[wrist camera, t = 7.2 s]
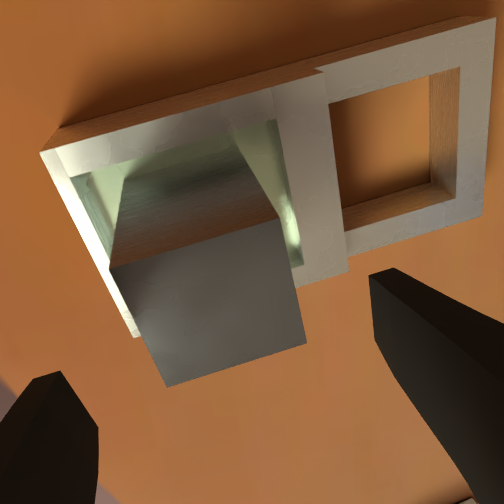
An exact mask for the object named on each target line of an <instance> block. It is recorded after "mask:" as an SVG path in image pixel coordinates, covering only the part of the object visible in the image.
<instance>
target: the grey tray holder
mask: <svg viewBox="0 0 504 504" xmlns="http://www.w3.org/2000/svg"><path fill="white" fill-rule="evenodd" d="M495 30H496V17H479V16H459V17H455V18H452V19H448V20H445V21H441V22H438V23H434V24H430V25H427V26H423V27H420V28H416V29H413V30H409V31H405V32H402V33H398V34H395V35H391V36H387V37H384V38H380V39H377V40H373V41H370V42H366V43H362V44H359V45H355V46H352V47H348V48H344V49H341V50H337V51H334V52H330V53H327V54H323V55H319V56H316V57H312V58H309V59H305V60H301V61H298V62H294V63H291V64H287V65H284V66H280V67H276V68H273V69H269V70H266V71H262V72H259V73H255V74H251V75H248V76H244V77H241V78H237V79H233V80H230V81H226V82H223V83H219V84H216V85H212V86H208V87H205V88H201V89H198V90H194V91H190V92H187V93H183V94H180V95H176V96H173V97H169V98H165V99H162V100H158V101H155V102H151V103H148V104H144V105H140V106H137V107H133V108H130V109H126V110H122V111H119V112H115V113H112V114H108V115H105V116H101V117H97V118H94V119H90V120H87V121H83V122H79V123H76V124H72V125H69V126H65V127H62V128H58V129H57V130H56V131H55V133H54V134H53V135H52V136H51V138H50V139H49V140H48V142H47V143H46V144H45V146H44V147H43V148H42V149H41V151H40V152H39V153H40V155H41V157H42V159H43V161H44V163H45V165H46V167H47V169H48V171H49V173H50V175H51V177H52V179H53V181H54V183H55V185H56V187H57V189H58V191H59V193H60V195H61V197H62V199H63V200H64V202H65V204H66V206H67V208H68V210H69V212H70V214H71V216H72V218H73V220H74V222H75V224H76V226H77V228H78V230H79V232H80V234H81V236H82V238H83V240H84V242H85V244H86V246H87V248H88V250H89V252H90V254H91V255H92V257H93V259H94V261H95V263H96V265H97V267H98V269H99V271H100V273H101V275H102V277H103V279H104V281H105V283H106V285H107V287H108V289H109V291H110V293H111V295H112V297H113V299H114V301H115V303H116V305H117V307H118V309H119V311H120V312H121V314H122V316H123V318H124V320H125V322H126V324H127V326H128V328H129V330H130V332H131V334H132V336H133V338H135V337H139V336H141V334H140V332H139V330H138V328H137V326H136V324H135V322H134V320H133V318H132V316H131V314H130V312H129V310H128V308H127V306H126V304H125V302H124V300H123V298H122V296H121V294H120V292H119V290H118V288H117V286H116V284H115V282H114V280H113V278H112V276H111V274H110V272H109V270H108V269H109V263H110V257H111V251H112V245H113V239H114V233H115V228H116V222H117V216H118V210H119V204H120V198H121V192H122V186H123V180H125V179H128V178H132V177H135V176H139V175H142V174H146V173H149V172H153V171H156V170H159V169H163V168H166V167H170V166H173V165H177V164H180V163H184V162H187V161H191V160H194V159H197V158H201V157H204V156H208V155H211V154H215V153H218V152H222V151H225V150H229V149H232V148H235V147H238V148H239V150H240V151H241V153H242V155H243V156H244V158H245V160H246V161H247V163H248V165H249V166H250V168H251V170H252V172H253V173H254V175H255V177H256V178H257V180H258V182H259V183H260V185H261V187H262V188H263V190H264V192H265V193H266V195H267V197H268V198H269V200H270V202H271V203H272V205H273V207H274V209H275V210H276V212H277V214H278V215H279V217H280V220H281V225H282V229H283V234H284V238H285V243H286V248H287V252H288V257H289V262H290V266H291V271H292V276H293V280H294V285H295V288H297V287H301V286H304V285H307V284H310V283H314V282H317V281H320V280H323V279H326V278H330V277H333V276H336V275H339V274H343V273H346V272H349V266H348V258H347V257H350V256H353V255H356V254H360V253H363V252H366V251H369V250H373V249H376V248H379V247H382V246H386V245H389V244H392V243H395V242H399V241H402V240H405V239H408V238H412V237H415V236H418V235H422V234H425V233H428V232H431V231H435V230H438V229H441V228H444V227H448V226H451V225H454V224H457V223H461V222H464V221H467V220H470V219H474V218H477V217H480V216H482V209H483V195H484V182H485V168H486V154H487V140H488V126H489V113H490V99H491V85H492V71H493V57H494V44H495ZM428 75H430V182H428V183H425V184H422V185H418V186H415V187H412V188H408V189H405V190H402V191H398V192H395V193H392V194H388V195H385V196H382V197H378V198H375V199H372V200H368V201H365V202H362V203H358V204H355V205H352V206H348V207H345V208H342V209H341V202H340V194H339V186H338V178H337V170H336V162H335V155H334V147H333V139H332V131H331V123H330V115H329V107H328V104H330V103H333V102H337V101H340V100H344V99H347V98H351V97H354V96H358V95H361V94H365V93H368V92H372V91H375V90H379V89H382V88H386V87H389V86H393V85H396V84H400V83H403V82H407V81H410V80H414V79H417V78H421V77H424V76H428Z"/></svg>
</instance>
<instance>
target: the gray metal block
mask: <svg viewBox="0 0 504 504" xmlns="http://www.w3.org/2000/svg"><path fill="white" fill-rule="evenodd" d="M108 270H109V272H110V274H111V276H112V278H113V280H114V282H115V284H116V286H117V288H118V290H119V292H120V294H121V296H122V298H123V300H124V302H125V304H126V306H127V308H128V310H129V312H130V314H131V316H132V318H133V320H134V322H135V324H136V326H137V328H138V330H139V332H140V334H141V336H142V338H143V340H144V342H145V344H146V346H147V348H148V350H149V352H150V354H151V356H152V358H153V360H154V362H155V364H156V366H157V368H158V370H159V372H160V374H161V376H162V379H163V381H164V383H165V385H166V387H170V386H174V385H177V384H180V383H183V382H186V381H189V380H192V379H196V378H199V377H202V376H205V375H208V374H211V373H214V372H218V371H221V370H224V369H227V368H230V367H233V366H236V365H240V364H243V363H246V362H249V361H252V360H255V359H258V358H262V357H265V356H268V355H271V354H274V353H277V352H281V351H284V350H287V349H290V348H293V347H296V346H299V345H303V344H306V343H307V340H306V336H305V331H304V327H303V322H302V317H301V313H300V308H299V303H298V299H297V294H296V289H295V285H294V280H293V276H292V271H291V266H290V262H289V257H288V252H287V248H286V243H285V238H284V234H283V229H282V225H281V220H280V217H279V215H278V214H277V212H276V210H275V209H274V207H273V205H272V203H271V202H270V200H269V198H268V197H267V195H266V193H265V192H264V190H263V188H262V187H261V185H260V183H259V182H258V180H257V178H256V177H255V175H254V173H253V172H252V170H251V168H250V166H249V165H248V163H247V161H246V160H245V158H244V156H243V155H242V153H241V151H240V150H239V148H238V147H235V148H232V149H229V150H225V151H222V152H218V153H215V154H211V155H208V156H204V157H201V158H197V159H194V160H191V161H187V162H184V163H180V164H177V165H173V166H170V167H166V168H163V169H159V170H156V171H153V172H149V173H146V174H142V175H139V176H135V177H132V178H128V179H125V180H123V186H122V192H121V198H120V204H119V210H118V216H117V222H116V228H115V233H114V239H113V245H112V251H111V257H110V263H109V269H108Z"/></svg>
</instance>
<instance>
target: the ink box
mask: <svg viewBox="0 0 504 504" xmlns="http://www.w3.org/2000/svg"><path fill="white" fill-rule="evenodd" d="M459 504H476V502H475V501H474V500H473V499H472V498H470V499H468V500H466V501H464V502H462V503H459Z"/></svg>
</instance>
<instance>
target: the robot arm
mask: <svg viewBox="0 0 504 504" xmlns="http://www.w3.org/2000/svg"><path fill="white" fill-rule="evenodd" d="M368 276H369V286H370V296H371V307H372V317H373V327H374V338H375V341H376V343H377V345H378V347H379V349H380V351H381V353H382V355H383V357H384V359H385V360H386V362H387V364H388V366H389V368H390V370H391V371H392V373H393V375H394V377H395V378H396V380H397V381H398V383H399V384H400V386H401V387H402V389H403V390H404V392H405V393H406V394H407V396H408V397H409V399H410V400H411V402H412V403H413V405H414V406H415V407H416V409H417V410H418V412H419V413H420V415H421V416H422V417H423V419H424V420H425V422H426V423H427V425H428V426H429V427H430V429H431V430H432V432H433V433H434V435H435V436H436V437H437V439H438V440H439V442H440V443H441V445H442V446H443V447H444V449H445V450H446V452H447V453H448V455H449V456H450V457H451V459H452V460H453V462H454V463H455V465H456V466H457V468H458V469H459V471H460V472H461V474H462V476H463V477H464V479H465V480H466V482H467V483H468V485H469V487H470V488H471V490H472V492H473V494H474V495H475V497H476V499H477V501H478V502H479V504H504V324H503V323H501V322H499V321H497V320H495V319H493V318H491V317H488V316H486V315H484V314H482V313H480V312H478V311H476V310H474V309H472V308H470V307H468V306H466V305H464V304H462V303H460V302H458V301H456V300H454V299H452V298H450V297H448V296H446V295H444V294H442V293H441V292H439V291H437V290H435V289H433V288H431V287H429V286H427V285H425V284H424V283H422V282H420V281H418V280H416V279H414V278H413V277H411V276H409V275H407V274H405V273H403V272H401V271H399V270H397V269H395V268H391V269H387V270H384V271H381V272H378V273H374V274H371V275H368ZM98 459H99V442H98V426H97V425H96V423H95V422H94V420H93V419H92V417H91V416H90V414H89V413H88V411H87V410H86V408H85V407H84V405H83V404H82V402H81V401H80V399H79V398H78V396H77V395H76V393H75V392H74V390H73V389H72V387H71V386H70V384H69V383H68V381H67V380H66V378H65V377H64V375H63V374H62V372H61V371H57V372H54V373H51V374H47V375H44V376H41V377H38V378H34V379H33V380H32V381H31V382H30V383H29V385H28V386H27V387H26V388H25V390H24V391H23V392H22V394H21V395H20V396H19V398H18V399H17V400H16V402H15V403H14V404H13V406H12V407H11V409H10V410H9V411H8V413H7V414H6V415H5V417H4V418H3V420H2V421H1V422H0V504H95V496H96V495H95V494H96V487H97V479H98Z"/></svg>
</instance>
